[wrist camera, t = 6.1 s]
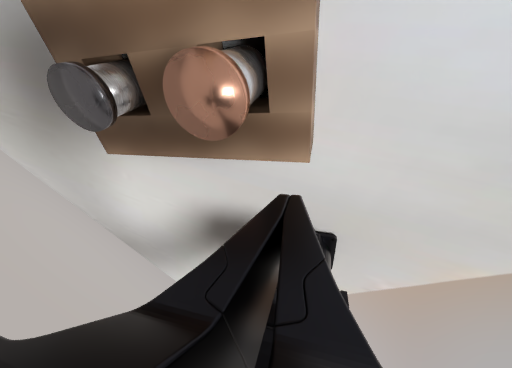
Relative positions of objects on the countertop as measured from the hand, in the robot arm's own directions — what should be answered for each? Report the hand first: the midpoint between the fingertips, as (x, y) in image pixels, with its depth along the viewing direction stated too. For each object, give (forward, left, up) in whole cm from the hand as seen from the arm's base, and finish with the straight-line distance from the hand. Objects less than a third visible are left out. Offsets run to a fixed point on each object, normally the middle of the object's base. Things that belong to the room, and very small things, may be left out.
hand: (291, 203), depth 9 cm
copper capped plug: (+3, +5, -10) cm, 12 cm away
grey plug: (+3, +15, -11) cm, 19 cm away
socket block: (+3, +10, -12) cm, 16 cm away
